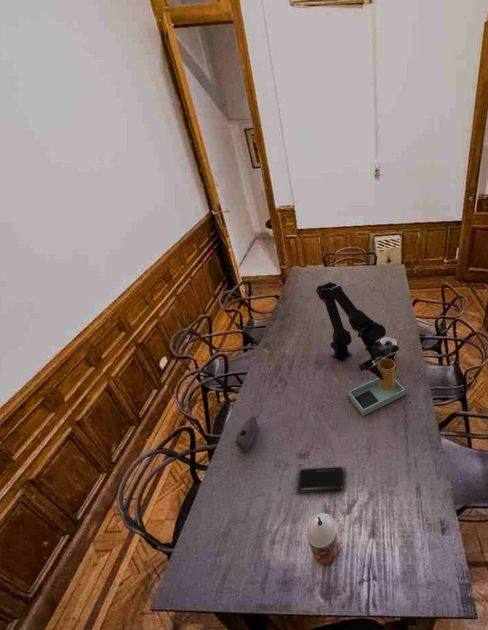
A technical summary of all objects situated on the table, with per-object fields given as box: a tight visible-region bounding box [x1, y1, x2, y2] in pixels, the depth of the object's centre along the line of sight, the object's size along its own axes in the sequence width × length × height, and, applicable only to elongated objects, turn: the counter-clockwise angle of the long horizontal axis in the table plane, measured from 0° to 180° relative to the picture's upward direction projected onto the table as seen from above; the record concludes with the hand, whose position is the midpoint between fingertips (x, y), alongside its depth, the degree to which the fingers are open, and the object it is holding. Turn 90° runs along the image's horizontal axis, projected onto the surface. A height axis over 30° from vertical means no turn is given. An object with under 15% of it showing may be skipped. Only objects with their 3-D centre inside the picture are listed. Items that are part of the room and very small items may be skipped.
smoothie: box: [305, 513, 338, 565], centre depth 93 cm, size 8×8×20 cm
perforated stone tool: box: [235, 416, 258, 453], centre depth 130 cm, size 15×5×7 cm, turn 172°
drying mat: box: [354, 390, 379, 409], centre depth 145 cm, size 8×8×1 cm
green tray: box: [347, 377, 406, 417], centre depth 147 cm, size 21×12×4 cm, turn 120°
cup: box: [377, 359, 396, 390], centre depth 144 cm, size 7×7×12 cm
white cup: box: [379, 336, 397, 360], centre depth 165 cm, size 8×8×10 cm
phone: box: [297, 466, 344, 494], centre depth 117 cm, size 8×1×15 cm
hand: (388, 375), depth 143 cm, fingers closed on cup, 7 cm apart
